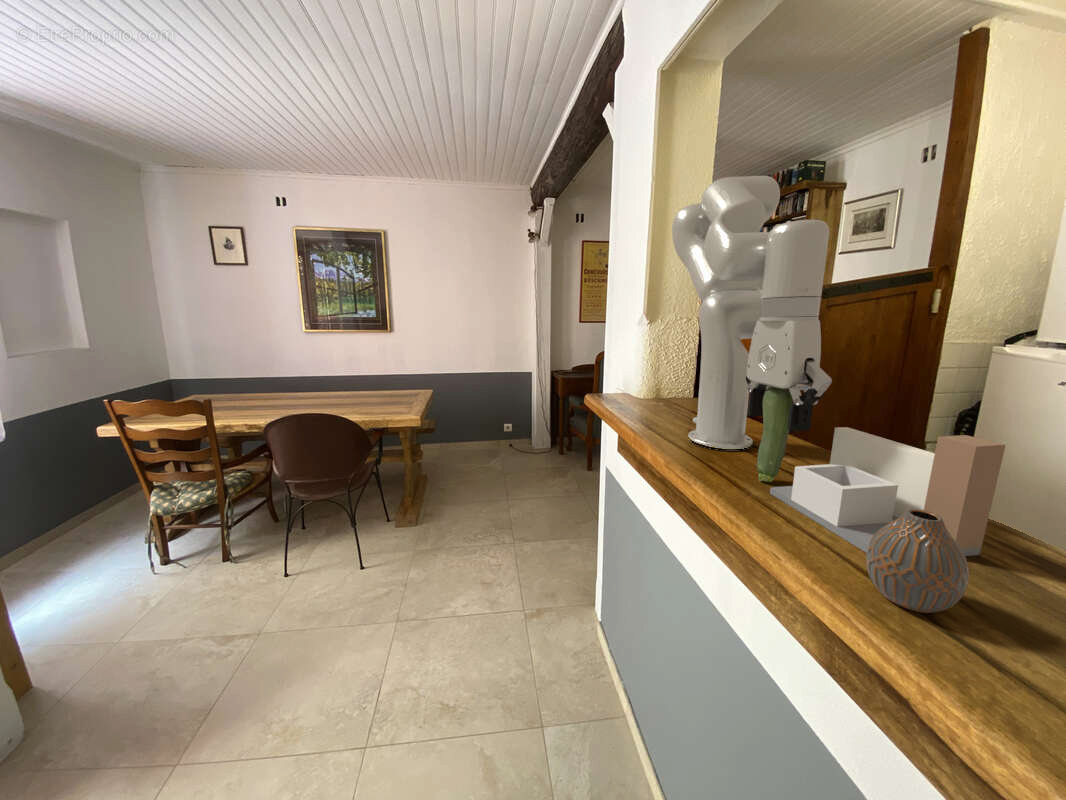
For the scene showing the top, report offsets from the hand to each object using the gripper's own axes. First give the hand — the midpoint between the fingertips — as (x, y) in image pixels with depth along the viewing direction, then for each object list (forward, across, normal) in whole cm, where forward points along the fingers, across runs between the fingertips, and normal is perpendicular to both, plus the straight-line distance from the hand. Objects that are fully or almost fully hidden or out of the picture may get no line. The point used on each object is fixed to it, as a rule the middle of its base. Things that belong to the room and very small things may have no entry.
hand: (776, 422), depth 63 cm
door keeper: (+10, +13, +3) cm, 17 cm away
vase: (+10, +27, -6) cm, 30 cm away
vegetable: (+10, 0, 0) cm, 10 cm away
